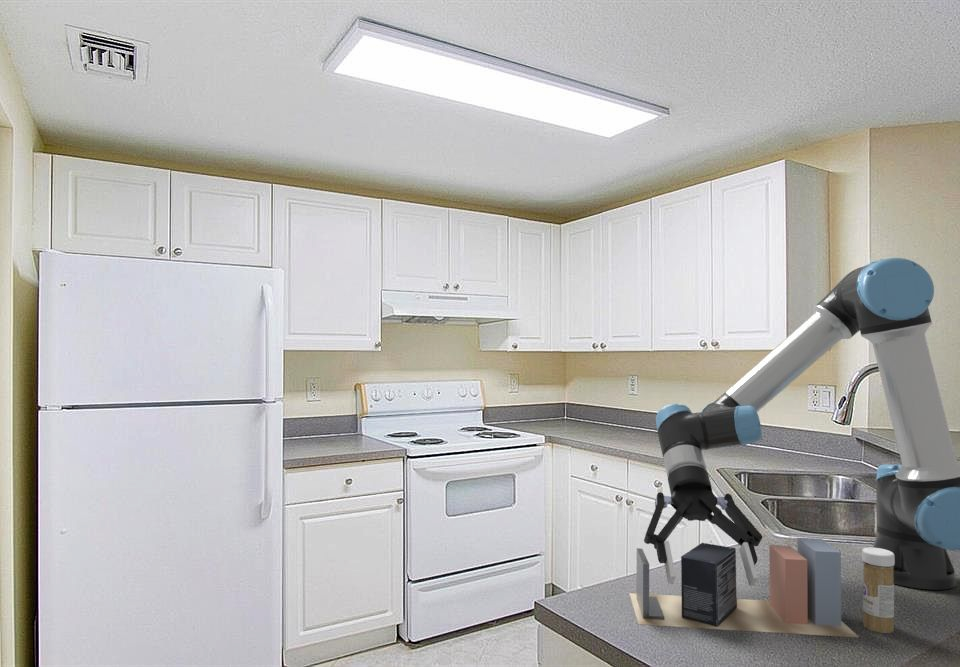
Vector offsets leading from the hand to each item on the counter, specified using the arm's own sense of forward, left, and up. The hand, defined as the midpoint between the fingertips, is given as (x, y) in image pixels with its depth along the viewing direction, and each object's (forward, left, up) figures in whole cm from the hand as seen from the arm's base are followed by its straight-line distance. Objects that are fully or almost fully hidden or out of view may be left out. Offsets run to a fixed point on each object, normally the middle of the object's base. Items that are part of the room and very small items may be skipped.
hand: (712, 581), depth 109 cm
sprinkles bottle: (-26, 0, -7) cm, 27 cm away
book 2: (-18, -4, -6) cm, 20 cm away
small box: (0, -2, -6) cm, 7 cm away
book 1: (-13, -4, -6) cm, 15 cm away
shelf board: (-4, -3, -7) cm, 9 cm away
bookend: (+10, -3, -6) cm, 12 cm away
